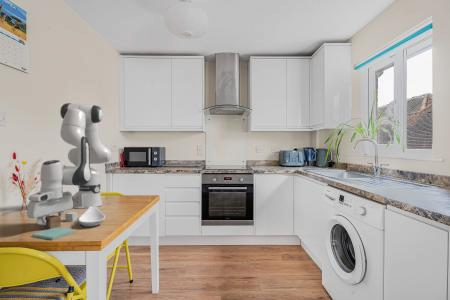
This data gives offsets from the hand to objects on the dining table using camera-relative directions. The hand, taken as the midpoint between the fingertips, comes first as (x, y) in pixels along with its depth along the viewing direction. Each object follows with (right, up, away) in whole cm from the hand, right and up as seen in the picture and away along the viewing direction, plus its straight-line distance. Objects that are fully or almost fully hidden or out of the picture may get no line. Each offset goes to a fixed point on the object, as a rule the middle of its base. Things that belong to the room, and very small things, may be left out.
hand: (51, 222), depth 121 cm
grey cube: (+2, -2, +12) cm, 12 cm away
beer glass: (-8, -2, +6) cm, 11 cm away
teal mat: (+8, -2, -10) cm, 13 cm away
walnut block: (0, -2, 0) cm, 2 cm away
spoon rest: (+15, -2, +9) cm, 17 cm away
